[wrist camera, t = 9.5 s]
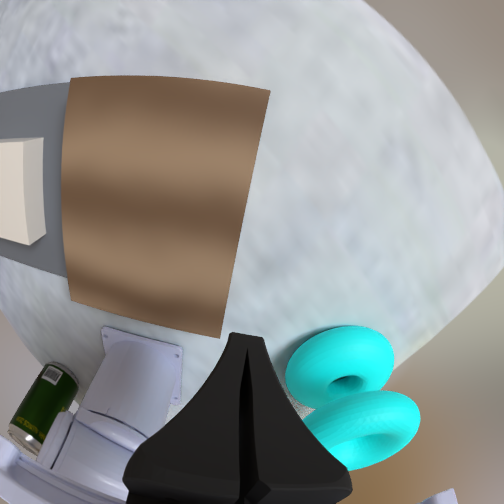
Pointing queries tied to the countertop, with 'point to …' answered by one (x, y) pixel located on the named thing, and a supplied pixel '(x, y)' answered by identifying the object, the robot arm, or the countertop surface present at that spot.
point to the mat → (51, 128)
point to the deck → (157, 194)
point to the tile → (21, 190)
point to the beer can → (43, 406)
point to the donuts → (352, 395)
